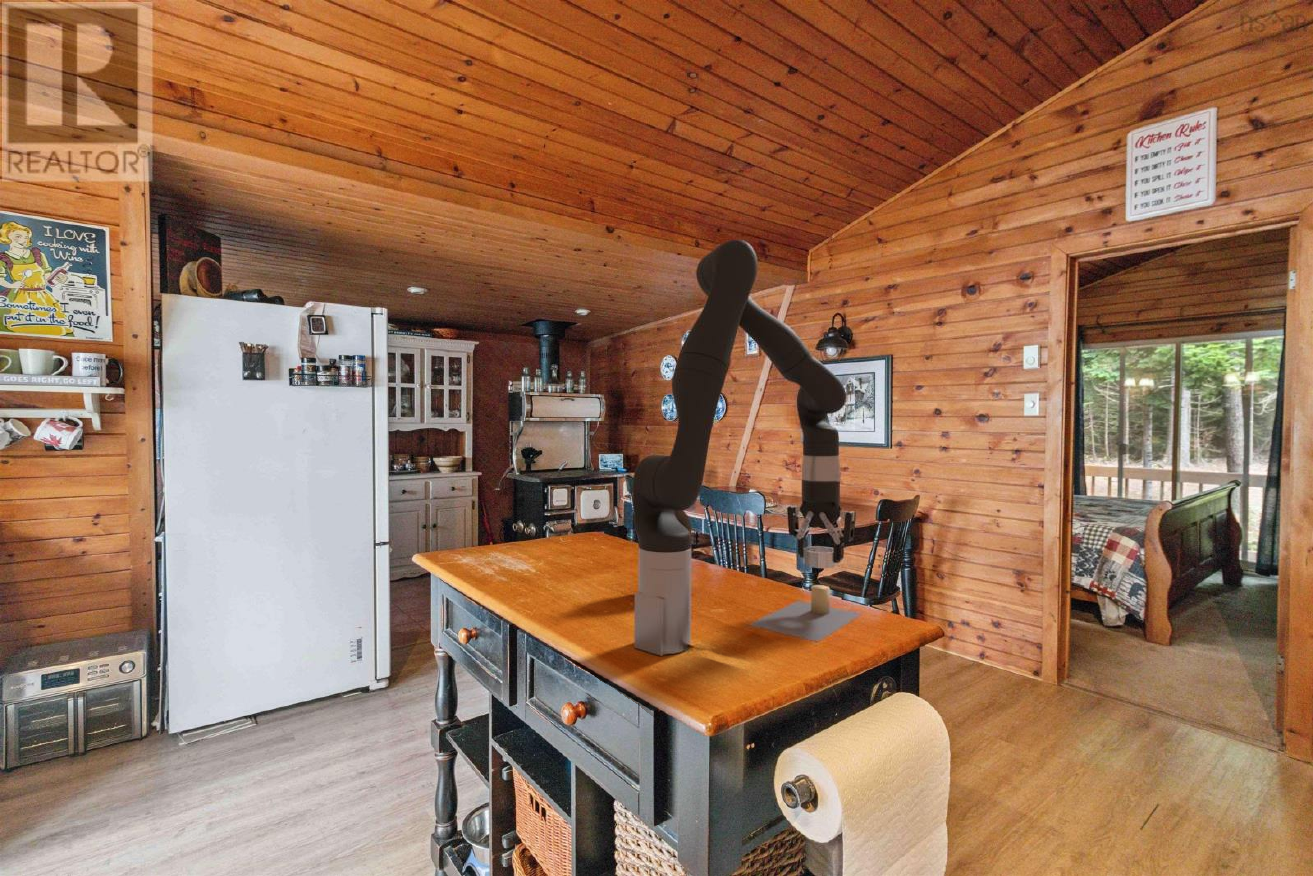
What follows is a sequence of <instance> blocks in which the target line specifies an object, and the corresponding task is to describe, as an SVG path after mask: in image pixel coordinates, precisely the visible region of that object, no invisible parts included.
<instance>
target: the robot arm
mask: <svg viewBox="0 0 1313 876" xmlns="http://www.w3.org/2000/svg"><path fill="white" fill-rule="evenodd" d="M758 265H759V264H758V256H757V254H756V251H755V250H754V248H753V246H752V245H751V244H750V243H749V242H747V241H746V240H743V239H736V238H735V239H734V238H733V239H730V240H728V241H724V242H723V243H721V244H720V245H718V246H716V247H715V249H712V251H710V252H708V253H707V254H706V255H705V256H703V258H702V259H701V260H700V261H699V262H698V263H697V266H696V270H695V271H696V273H695V275H696V281H697V283H698V286H699V287H700V289H701V290H702V292H703V293H704V294H705V295H706V296H707V300H706V302H705V305H704V306H703V308H702V309H701V312H700V314H699V316H698V317H697V319H696V320H695V322H694V324H693V325H692V327H691V329H690V331H689V332H688V335H686V338H685V340H684V341H683V344H682V347H681V348H680V351H679V355H678V357H677V361H676V364H675V368H674V370H673V375H672V380H671V391H672V398H673V400H674V401H673V402H674V406H675V410H676V411H675V412H676V414H677V415H676V416H677V431H676V435H675V440H674V443H673V447H672V450H671V453H670V455H664V454H663V455H660V454H658V455H656V454H654V455H648V456H645V457H644V458H642V459H641V460H640V461H639V462H638V463H637V465H636V468H635V471H634V474H633V479H632V508H633V509H632V510H633V525H634V527H633V528H634V530H635V533H636V535H637V540H638V586H637V587H638V592H635V593H634V633H633V634H634V642H633V643H634V648H635V649H638V650H641V651H644V652H648V653H650V654H654V655H658V656H661V657H662V656H665V655H669V654H679V653H682V652H684V651H687V650H688V649H690V647H691V635H692V634H691V630H692V628H691V627H692V623H691V622H692V621H691V619H692V618H691V617H692V612H691V611H692V533H691V534H690V532H689V530H688V529H686V528H685V527H684V526H683V525H682V524H681V523H680V522H679V521H678V520H677V518H676V516H675V513H674V510H678V511H681V510H683V511H686V510H688V509H690V508H691V507H692V506H693V505H694V504H695V502H697V500H698V497H699V495H700V492H701V489H702V486H703V482H704V481H703V480H704V476H705V470H706V464H707V456H708V451H709V446H710V439H711V435H712V429H713V425H714V421H715V417H716V413H717V410H718V408H717V407H718V404H719V401H720V397H721V395H722V391H723V388H724V385H725V382H726V381H725V380H726V378H727V377H726V376H727V374H728V370H729V365H730V360H731V356H732V352H733V348H734V346H735V341H736V337H737V334H738V330H739V327H740V328H741V329H742V331H744V332H745V333H746V334H747V335H748V336H749V337H750V338H751V339H752V340H753V341H754V342H755V344H756V345H757V346H758V347H759V348H760V349H761V350H762V352H763V353H764V354H765V355H766V357H767V358H768V359H769V361H770V362H771V363H772V364H773V366H774V367H775V368H776V369H777V371H778V372H779V373H780V375H781V376H782V377H783V378H784V379H785V380H786V381H788V382H790V383H793V384H797V385H798V386H799V389H798V391H797V396H796V408H797V415H798V419H799V420H798V421H799V425H800V428H801V431H802V434H803V436H802V437H803V438H802V462H801V502H802V503H801V505H800V506H797V505H790V506H788V507H786V512H787V514H786V515H787V527H788V534H789V535H790V536H794V537H795V538H796V539H797V554H798V555H799V557H800V558H801V559H803V548H806V547H809V545H808V543H809V542H808V541H809V540H808V538H807V537H808V535H809V533H810V532H811V531H812V529H813V528H815V529H816V528H820V529H822V530H827V533H828V534H829V535H830V536H831V537H832V540H833V542H834V543H833V547H832V548H833V562H834V563H838V564H839V563H840V562H841V561H843V559H844V558H845V557H844V555H845V552H844V551H845V549H844V548H845V543H849V542H852V541H854V539H855V527H856V520H857V519H856V518H857V513H856V511H854V510H852V511H851V510H849V511H847V510H843V509H842V507H841V505H840V502H841V476H842V475H841V463H840V456H839V455H840V443H839V442H840V436H839V434H840V433H839V431H838V429H837V428H836V427H834V426H833V425H831V424H830V420H829V415H828V414H834V413H837V412H839V411H841V409H843V407H844V406H845V404H846V401H847V393H846V389H845V386H844V385H843V383H842V381H841V380H840V379H839V377H838V376H836V374H834V373H833V371H831V370H830V369H829V368H828V367H826V365H824V364H823V363H822V362H821V361H819V360H818V359H817V358H815V357H814V356H813V354H812V353H811V351H810V350H809V348H808V347H807V345H805V343H804V342H803V341H802V339H801V338H800V337H799V336H798V334H797V333H796V332H795V331H794V330H793V329H792V328H791V327H790V326H789V325H787V324H786V323H785V322H783V321H782V320H780V319H779V318H777V317H775V316H774V315H773V314H771V313H770V312H768V311H766V310H764V309H763V308H762V307H761V306H759V304H757V303H756V301H755V300H753V298H752V297H750V294H751V292H752V289H753V287H754V285H755V282H756V278H757V275H758V269H759V266H758ZM800 515H802V517H803V518H804V520H803V521H802V523H801V525H800V523H799V516H800ZM840 517H841V519H842V521H843V522H844V526H843V533H842V528H841V526H840V524H839V522H838V520H839V518H840Z"/></svg>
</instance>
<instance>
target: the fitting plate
mask: <svg viewBox="0 0 1313 876" xmlns="http://www.w3.org/2000/svg"><path fill="white" fill-rule="evenodd" d="M830 591H831V590H830V587H829V586H826V585H822V584H813V585H811V587H810V596H811V597H810V602H806V601H801V600H797V601H794V602H793V603H791V604H788V605H786V606H784V607H782V608H780V609H778V610H776V611H774V612H771V613H770V614H768V615H765V616H763V617H761V618H759V619H757V620H754V621H753V622H751V623H748V624H747V625H748V626H751V627H755V628H759V629H761V630H762V629H763V630H767V631H771V632H775V633H778V634H783V635H787V636H792V637H796V638H800V639H804V640H807V641H811V642H816V643H818V642H820V641H822V640H823V639H824V638H826V637H829V636H830V635H832V634H833V633H834V632H836V631H838V630H839V629H841V628H843V627H844V626H846V625H847V624H849V623H850V622H852V621H854V620H855V619H857V618H858V617H860V616H862V615H863V613H861V612H855V611H851V610H846V609H842V608H837V607H832V606H830V601H831V600H830V598H831V597H830Z"/></svg>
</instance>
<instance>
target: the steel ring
mask: <svg viewBox="0 0 1313 876" xmlns="http://www.w3.org/2000/svg"><path fill="white" fill-rule="evenodd" d="M802 559H803V560H802V561H803V562H802V563H803V565H804V566H807V567H809V568H815V569H833V568H836V567H838V566H839V565H838V564H839V563H834V562H833V547H831V546H824V545H823V546H820V545H814V546H813V545H811V546H808V547H806V548H803V558H802Z"/></svg>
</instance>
